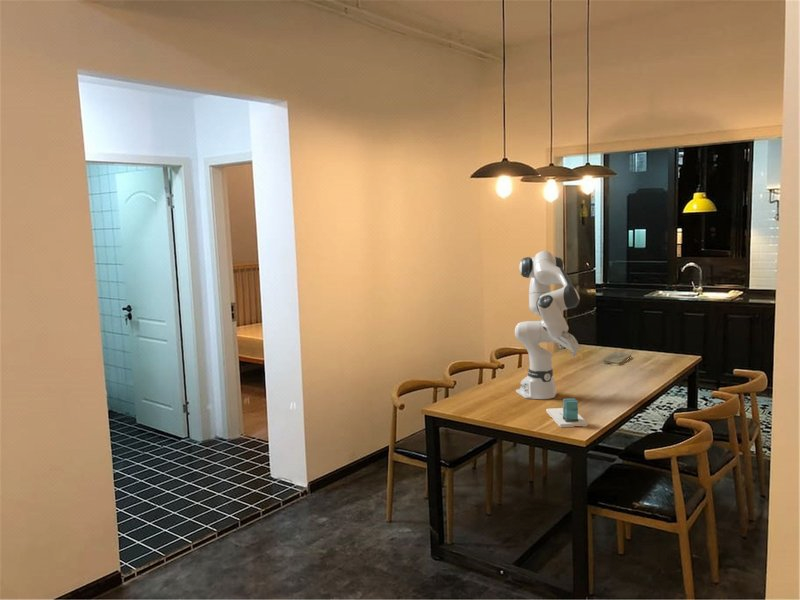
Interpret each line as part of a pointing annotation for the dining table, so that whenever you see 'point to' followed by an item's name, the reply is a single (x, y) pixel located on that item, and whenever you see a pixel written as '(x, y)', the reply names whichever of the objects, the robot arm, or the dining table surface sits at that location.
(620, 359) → the stone slab
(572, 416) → the block
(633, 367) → the dining table surface
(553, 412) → the board
